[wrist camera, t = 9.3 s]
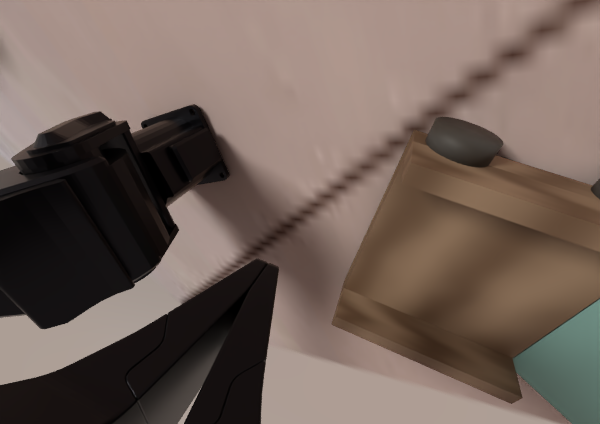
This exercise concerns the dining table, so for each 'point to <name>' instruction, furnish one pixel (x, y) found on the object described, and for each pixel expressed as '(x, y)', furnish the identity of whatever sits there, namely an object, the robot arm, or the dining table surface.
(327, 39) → the dining table surface
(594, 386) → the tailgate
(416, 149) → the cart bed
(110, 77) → the dining table surface
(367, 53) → the dining table surface
